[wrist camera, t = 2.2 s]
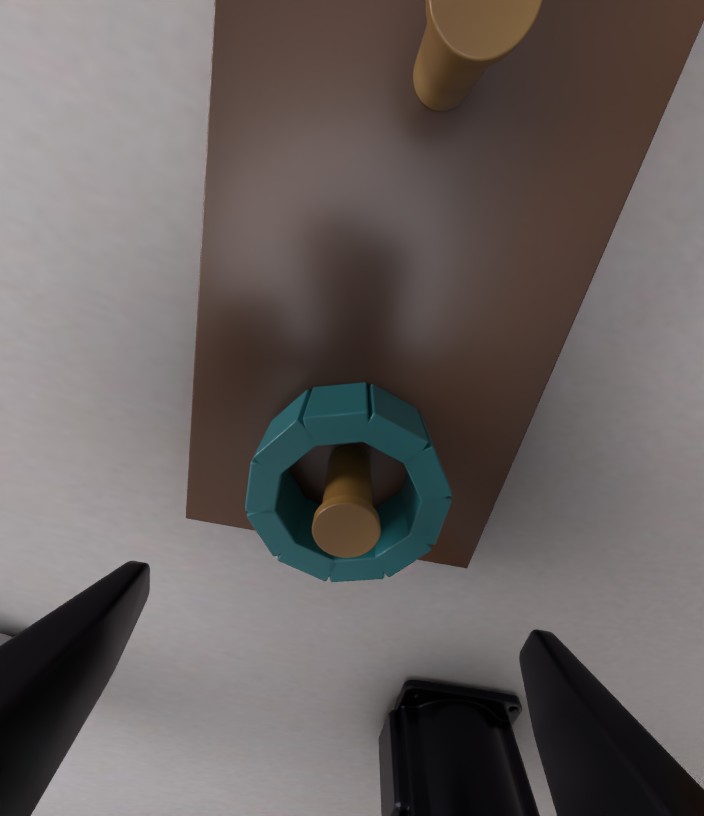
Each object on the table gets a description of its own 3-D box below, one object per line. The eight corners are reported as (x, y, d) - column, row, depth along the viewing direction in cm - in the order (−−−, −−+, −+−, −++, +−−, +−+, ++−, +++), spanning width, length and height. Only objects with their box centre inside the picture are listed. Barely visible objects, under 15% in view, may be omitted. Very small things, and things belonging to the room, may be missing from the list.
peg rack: (709, -43, 10) (987, -271, 6) (461, 552, 18) (495, 655, 13) (240, -182, 9) (129, -575, 5) (194, 503, 17) (136, 596, 12)
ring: (457, 400, 14) (478, 434, 11) (408, 545, 16) (416, 597, 14) (277, 363, 13) (259, 390, 11) (255, 517, 16) (236, 566, 13)
